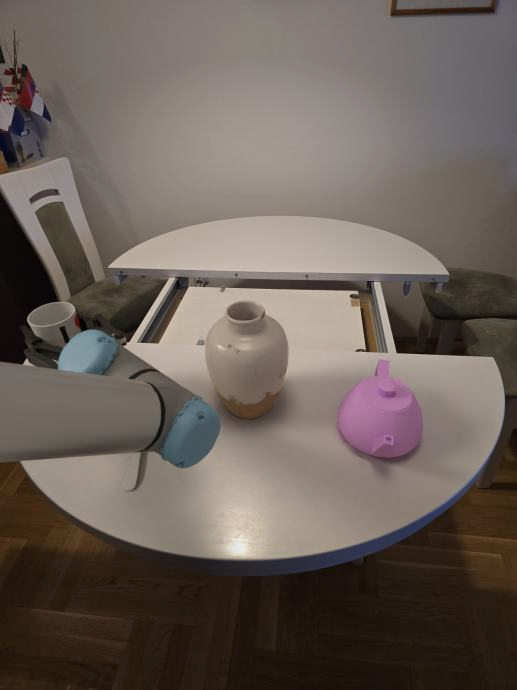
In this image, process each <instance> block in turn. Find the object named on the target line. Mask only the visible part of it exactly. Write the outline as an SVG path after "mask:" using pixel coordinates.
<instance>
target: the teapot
mask: <svg viewBox="0 0 517 690" xmlns="http://www.w3.org/2000/svg"><path fill="white" fill-rule="evenodd" d="M421 409H422V408H421V407H420V404H419V402H418V399H417V398H416V396H415V394H414V393H413V392H412V390H411V389H410V388H409V386H408V385H406V383H404V382H403V381H401V380H399V379H397V378H395V377H392V376H390V360H387V359H380V358H379V359H378V360H377V363H376V366H375V370H374V375H373V376H369V377H367V378H365V379H362V380H361V381H360V382H358V383H357V384H355V385H354V386H352V388H351V389H349V390H348V391H347V393H346V394H345V395H344V397H343V398H342V400H341V402H340V404H339V407H338V410H337V416H336V423H337V426H338V429H339V431H340V433H341V435H342V437H343V438H344V440H346V441H347V443H349V444H350V445H351V446H352V447H354V448H355V449H357V450H358V451H360V452H362V453H364V454H366V455H370V456H373V457H378V458H387V459H388V458H389V459H391V458H395V457H397V458H398V457H401V456H403V455H406V454H408V453H410V452H411V451H413V450H414V449H415V448H416V447H417V445H419V443H420V441H421V438H422V435H423V429H424V420H423V414H422V413H423V412H422V410H421Z"/></svg>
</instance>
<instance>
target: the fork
mask: <svg viewBox="0 0 517 690" xmlns="http://www.w3.org/2000/svg"><path fill="white" fill-rule="evenodd" d="M141 457H142V453H140V452H137V453H133V457H132V459H131V461H130V463H129V465H128V467H127V469H126V471H125V474H124V476H123V479H122V483H121V489H122V490H123V491H124V492H131V491H133V490H135V488H136V486H137V482H138V477H139V471H140V466H141V465H140V464H141Z"/></svg>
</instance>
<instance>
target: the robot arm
mask: <svg viewBox="0 0 517 690" xmlns="http://www.w3.org/2000/svg"><path fill="white" fill-rule="evenodd" d="M76 314H77V317H78V321H79V324H80V329H81V333H79V334H77V335H76V336H74V337H73V338H72V339H71V340H70V341H69V343H68V344H67V345H66V346H65V347H59V346H55V345H50V344H45V343H43V342H42V340H41V338H40V337H38V336H36V335H35V334H34V332H33V330H32V329H31V328H29V327H27V326H26V325H22V326H20V330H21V331H22V332H21V333H22V334H23V336H24V338H25V339H24V341H25V342H24V343H25V344H26V346H27V347H28V348H25V349H24V350H23V354H24V355H25V357H26V359H27V361H28V363H29V364H30V365H27V364H21V363H13V362H7V361H5V362H4V361H0V463H1V464H2V463H12V462H27V461H41V460H53V459H54V460H55V459H67V458H81V457H96V456H110V455H121V454H123V455H124V454H135V453H137V452H140V453H141V454H142V453H152V452H153V453H156V454H158V455H159V456H160V458H161V459H162V460H163V461H165V462H168V463H170V464H171V465H173V466H174V467H176V468H179V469H188V468H191V467H194V466H195V465H197V464H199V463H200V462H202V461H203V460H204V459H205V458H206V457H207V456H208V454H209V453H210V452H211V450H212V449H213V448H214V446H215V445H216V442H217V440H218V438H219V436H220V433H221V426H222V422H221V421H222V420H221V416H220V415H219V412H218V411H217V410H216V409H215V408H214V407H213V406H212V405H210V404H209V403H208V402H206V400H204V399H203V398H202V396H200V395H197V394H196V393H194V392H192V391H190V390H189V389H187V388H186V387H185V386H183V385H182V384H180V383H178V382H177V381H175V380H174V379H172V378H171V377H169V376H168V375H166V374H164V373H163V372H161V371H160V370H159V369H157V368H156V367H155V366H153V365H151V364H150V363H148V362H147V361H145V360H144V359H142V358H141V357H139V356H138V355H137V354H135V353H134V352H132V351H130V350H129V349H128V348H127V347H126V346H127V345H128V342H127V338H126V334H125V332H124V331H122V330H119V329H117V328H116V327H114V325H113V324H112V323H110V321H108V319H107V318H105V317H104V315H102V314H101V313H96V314H95V315H94V316H92V317H91V316H87V315H86V314H84V313H83V312H79V313H77V312H76ZM95 327H98V328H99V329H100V330H98V329H96V328H95ZM55 360H56V361H58V363H57V362H56V361H55Z"/></svg>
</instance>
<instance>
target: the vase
mask: <svg viewBox="0 0 517 690" xmlns="http://www.w3.org/2000/svg"><path fill="white" fill-rule="evenodd" d="M289 348H290V347H289V342H288V337H287V335H286V332H285V330H284V327H283V326H282V325H281V323H280V322H278V320H276V319H275V318H274V317H272V316H270V315H268V314H266V310H265V308H264V306H263V304H261V303H260V302H256V301H253V300H238V301H235V302H232V303H231V304H229V305H228V306H227V307H225V311H224V316H223V317H221V318H219V319H218V320H217V321H215V322H214V323H213V325H212V326H211V327H210V329H209V331H208V332H207V335H206V338H205V344H204V358H205V364H206V368H207V369H206V370H207V372H208V376H209V378H210V380H211V383H212V386H213V388H214V390H215V392H216V395H217V396H218V398H219V399H220V401H221V402H222V404H223V405H224V407H225V408H226V409H227V410H228V411H229V412H230V413H231V414H232V415H234V416H235V417H237V418H240V419H245V420H250V419H251V420H253V419H258V418H260V417H262V416H264V415H266V414H267V413H268V412H269V411H270V410H271V409H272V407H273V406H274V404H275V403H276V400H277V398H278V397H279V395H280V393H281V390H282V388H283V386H284V382H285V379H286V375H287V370H288V365H289V358H290V357H289V356H290V349H289Z"/></svg>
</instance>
